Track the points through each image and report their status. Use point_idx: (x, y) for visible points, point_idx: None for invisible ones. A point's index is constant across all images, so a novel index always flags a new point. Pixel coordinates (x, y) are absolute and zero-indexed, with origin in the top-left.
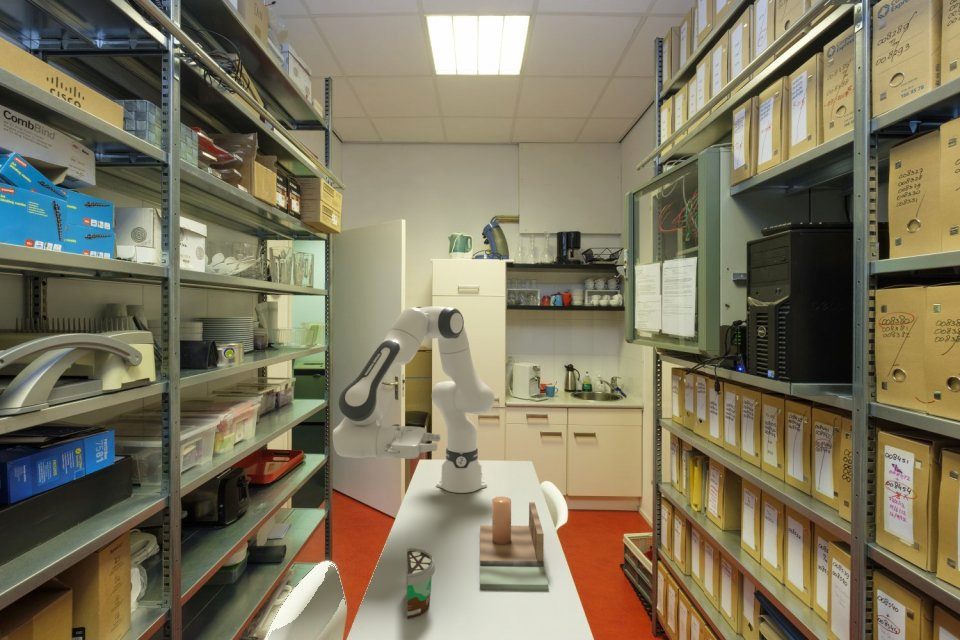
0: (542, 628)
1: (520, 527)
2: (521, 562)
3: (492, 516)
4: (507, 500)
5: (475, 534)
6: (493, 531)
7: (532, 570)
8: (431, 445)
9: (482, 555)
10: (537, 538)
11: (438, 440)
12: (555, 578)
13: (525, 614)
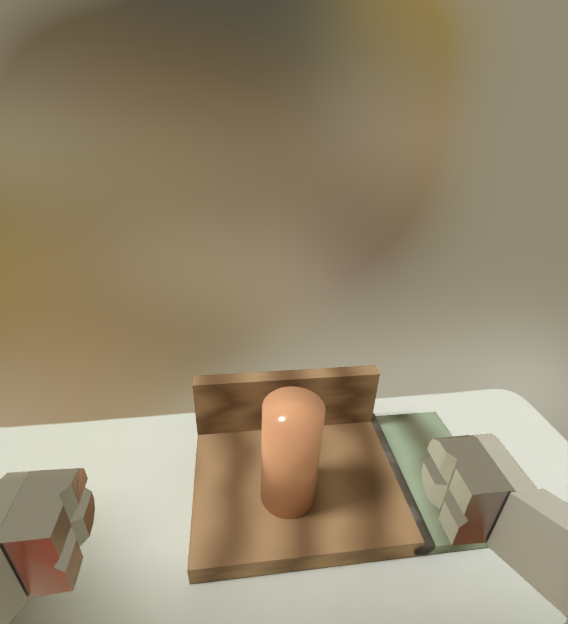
0: (548, 429)
1: (207, 452)
2: (387, 448)
3: (300, 468)
4: (292, 394)
5: (206, 600)
6: (306, 494)
7: (398, 433)
8: (522, 483)
9: (393, 538)
10: (377, 382)
11: (91, 515)
12: (389, 408)
13: (531, 451)
